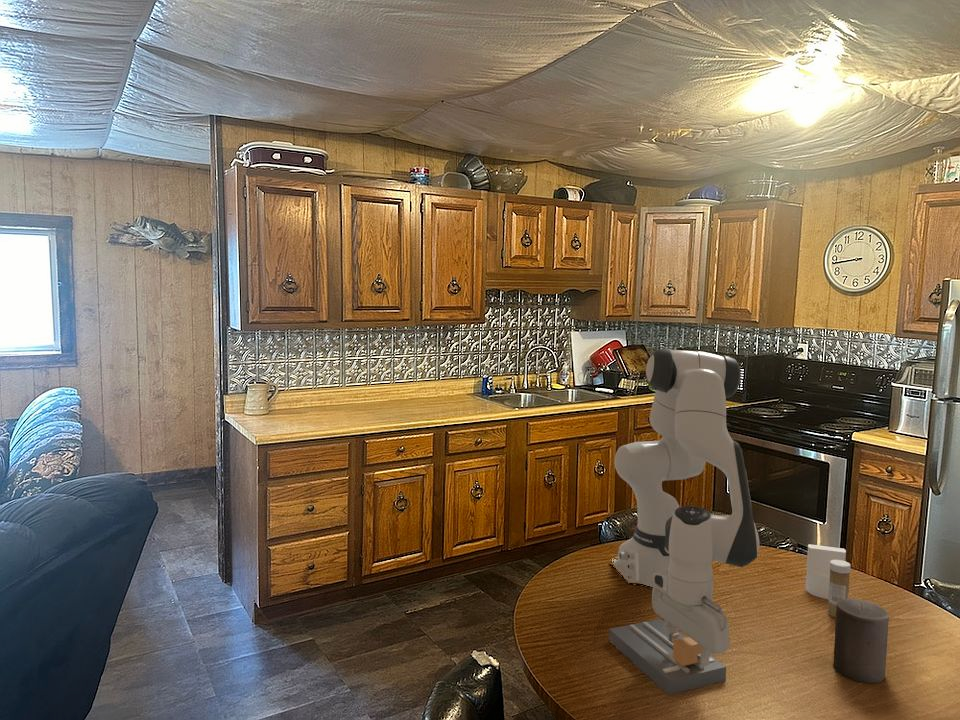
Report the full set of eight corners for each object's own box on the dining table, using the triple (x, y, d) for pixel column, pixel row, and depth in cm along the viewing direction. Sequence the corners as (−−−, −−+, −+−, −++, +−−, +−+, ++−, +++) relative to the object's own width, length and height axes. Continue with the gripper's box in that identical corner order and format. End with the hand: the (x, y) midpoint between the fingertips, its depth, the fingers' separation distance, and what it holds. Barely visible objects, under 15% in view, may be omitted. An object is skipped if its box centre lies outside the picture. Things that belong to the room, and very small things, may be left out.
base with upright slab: (806, 595, 177) (809, 551, 176) (804, 582, 185) (806, 540, 184) (845, 601, 174) (848, 556, 172) (841, 587, 182) (843, 544, 181)
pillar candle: (826, 671, 141) (830, 602, 140) (840, 653, 148) (844, 588, 147) (879, 689, 135) (883, 618, 133) (890, 669, 142) (895, 601, 140)
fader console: (608, 641, 153) (609, 626, 153) (660, 630, 158) (660, 616, 158) (669, 695, 133) (669, 677, 132) (725, 680, 138) (726, 663, 137)
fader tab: (672, 662, 138) (673, 640, 138) (692, 657, 140) (693, 636, 140) (682, 670, 136) (682, 647, 135) (702, 665, 137) (703, 642, 137)
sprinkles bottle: (851, 616, 166) (854, 563, 164) (841, 621, 163) (844, 567, 162) (833, 608, 169) (836, 557, 168) (823, 613, 167) (826, 561, 166)
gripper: (738, 607, 128) (736, 676, 129) (671, 566, 147) (669, 627, 148) (712, 612, 126) (709, 682, 127) (647, 571, 145) (645, 632, 146)
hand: (687, 652), depth 138 cm, fingers open, 8 cm apart
